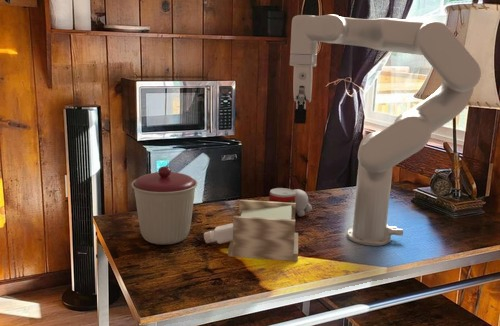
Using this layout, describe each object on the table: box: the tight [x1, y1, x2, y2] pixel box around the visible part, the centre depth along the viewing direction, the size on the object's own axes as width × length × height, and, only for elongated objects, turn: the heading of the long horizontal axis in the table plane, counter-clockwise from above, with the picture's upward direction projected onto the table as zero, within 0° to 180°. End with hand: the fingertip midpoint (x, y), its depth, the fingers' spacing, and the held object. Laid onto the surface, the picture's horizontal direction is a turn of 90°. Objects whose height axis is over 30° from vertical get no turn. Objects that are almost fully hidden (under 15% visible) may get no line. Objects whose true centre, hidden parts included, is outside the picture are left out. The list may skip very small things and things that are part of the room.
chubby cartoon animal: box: [293, 188, 313, 218], centre depth 162 cm, size 7×12×8 cm, turn 118°
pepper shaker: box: [203, 222, 233, 245], centre depth 137 cm, size 4×4×10 cm
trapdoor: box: [241, 205, 292, 220], centre depth 135 cm, size 14×12×2 cm
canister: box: [130, 165, 199, 246], centre depth 138 cm, size 18×18×21 cm
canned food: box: [268, 187, 296, 203], centre depth 152 cm, size 8×8×11 cm
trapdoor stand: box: [227, 199, 299, 262], centre depth 135 cm, size 18×15×11 cm
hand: (299, 120), depth 143 cm, fingers open, 9 cm apart
